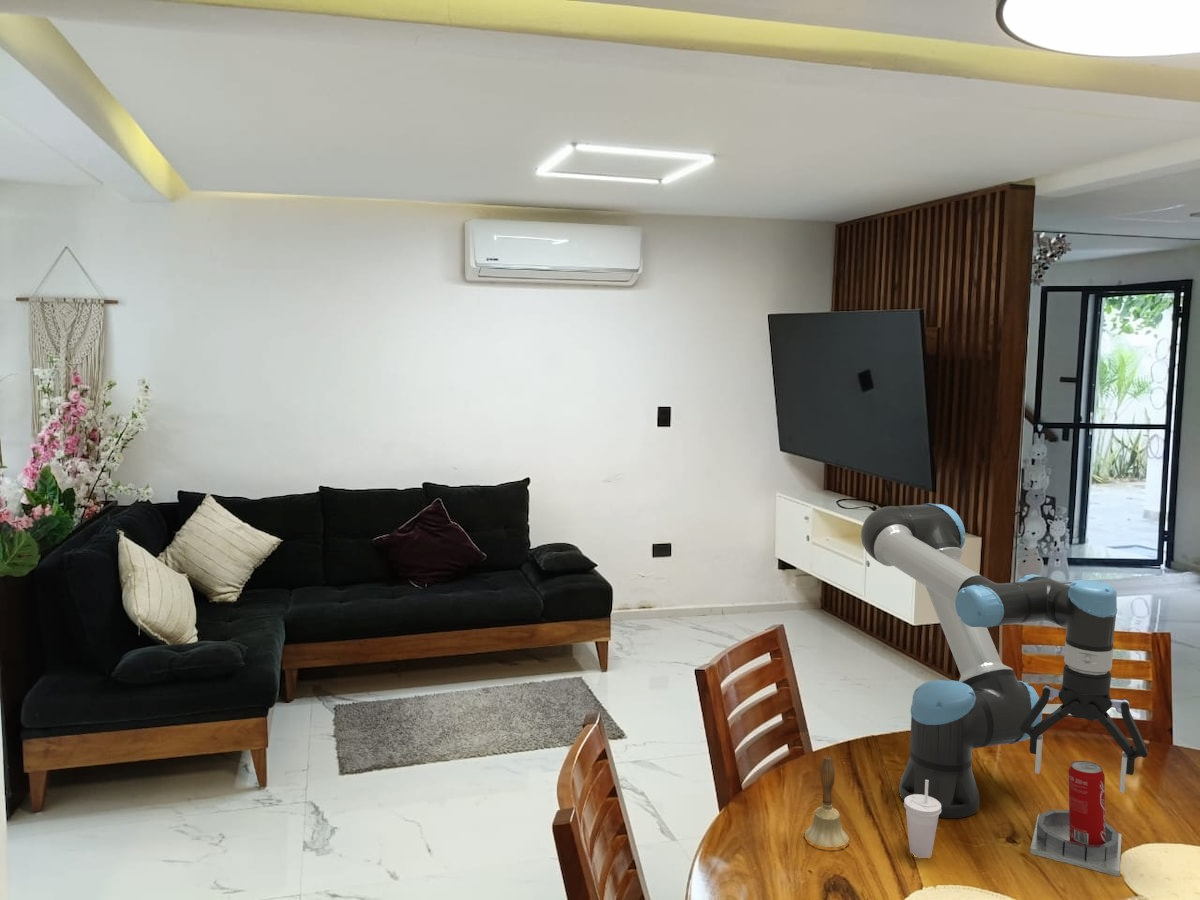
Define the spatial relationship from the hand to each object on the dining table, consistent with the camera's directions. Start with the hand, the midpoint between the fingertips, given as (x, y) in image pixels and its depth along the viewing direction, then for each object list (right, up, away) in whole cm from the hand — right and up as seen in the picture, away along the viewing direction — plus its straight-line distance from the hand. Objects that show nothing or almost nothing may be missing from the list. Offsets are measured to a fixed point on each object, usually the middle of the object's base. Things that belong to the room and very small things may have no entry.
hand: (1078, 780), depth 165 cm
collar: (0, -13, +1) cm, 13 cm away
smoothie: (-29, -13, -1) cm, 32 cm away
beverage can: (+1, -12, 0) cm, 12 cm away
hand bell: (-45, -13, +4) cm, 47 cm away
